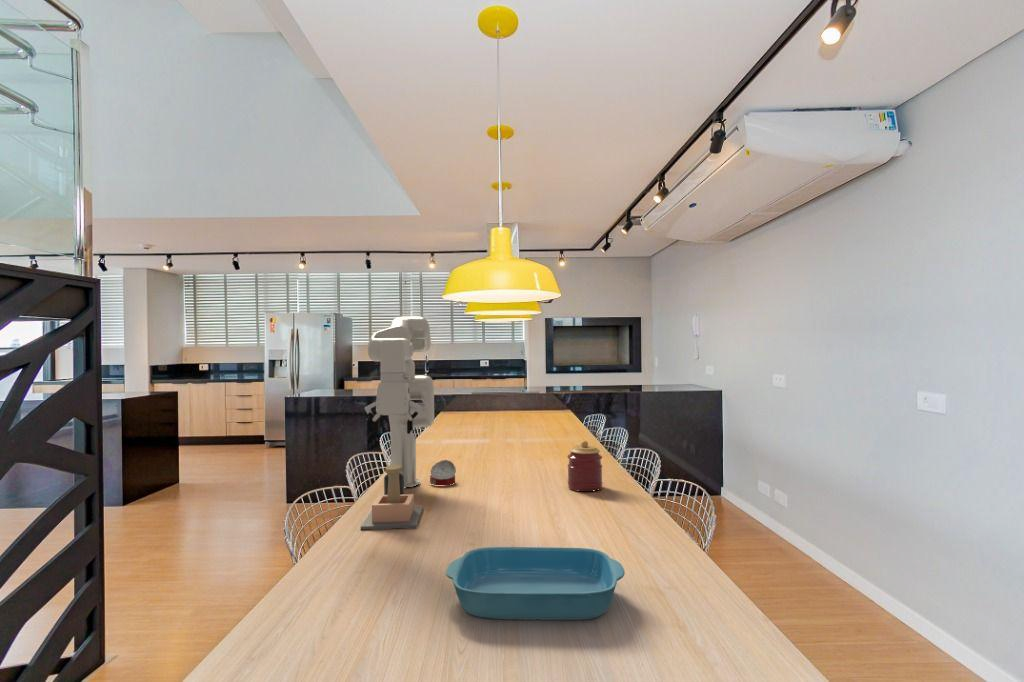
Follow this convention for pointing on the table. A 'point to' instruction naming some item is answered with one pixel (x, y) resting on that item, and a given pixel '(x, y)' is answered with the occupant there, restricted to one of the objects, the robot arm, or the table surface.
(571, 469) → the canister
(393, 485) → the handle
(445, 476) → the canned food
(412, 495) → the socket
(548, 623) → the table surface
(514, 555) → the casserole dish
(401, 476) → the supplement bottle
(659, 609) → the table surface
